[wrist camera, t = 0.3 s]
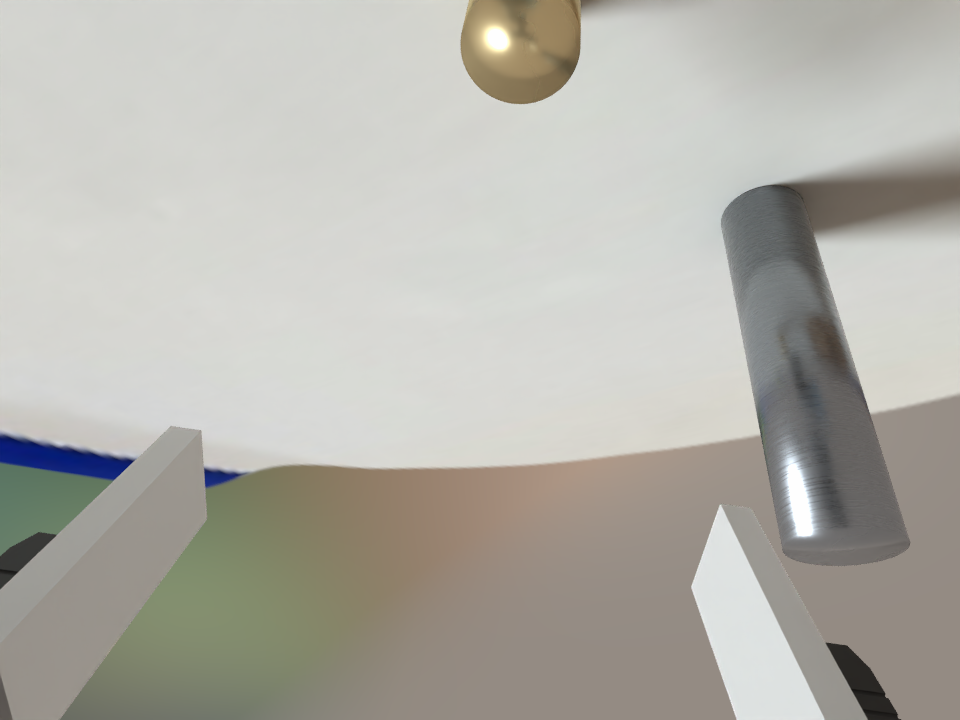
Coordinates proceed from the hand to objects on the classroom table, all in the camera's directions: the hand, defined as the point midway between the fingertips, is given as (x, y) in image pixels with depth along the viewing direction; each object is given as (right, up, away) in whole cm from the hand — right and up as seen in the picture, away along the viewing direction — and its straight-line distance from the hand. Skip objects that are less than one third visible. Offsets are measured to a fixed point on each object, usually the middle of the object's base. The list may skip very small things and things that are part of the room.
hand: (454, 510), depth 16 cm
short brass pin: (+2, +16, +3) cm, 16 cm away
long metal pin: (+12, +10, +10) cm, 19 cm away
